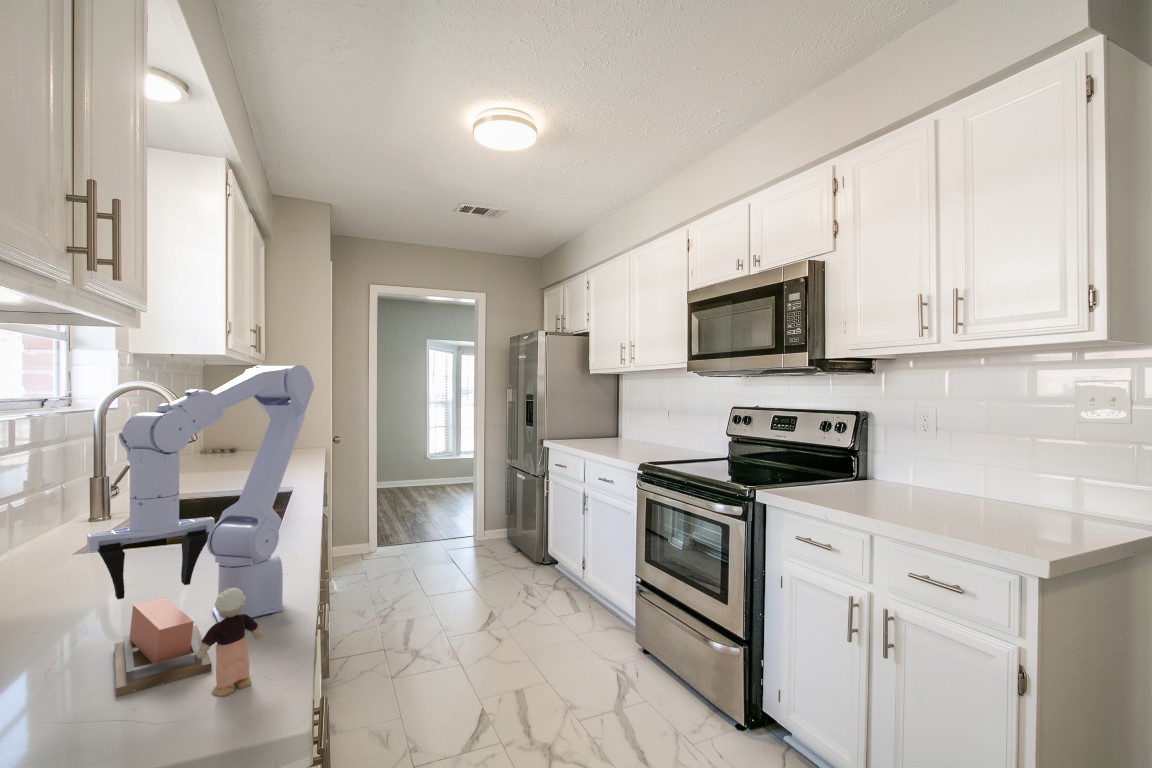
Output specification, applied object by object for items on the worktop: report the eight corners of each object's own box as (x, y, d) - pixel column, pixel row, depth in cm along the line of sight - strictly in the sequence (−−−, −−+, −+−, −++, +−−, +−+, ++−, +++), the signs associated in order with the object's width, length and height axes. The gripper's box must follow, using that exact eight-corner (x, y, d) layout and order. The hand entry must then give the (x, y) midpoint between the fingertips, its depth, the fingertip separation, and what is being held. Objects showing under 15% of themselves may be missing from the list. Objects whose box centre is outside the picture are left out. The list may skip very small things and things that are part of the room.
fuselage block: (162, 630, 83) (165, 597, 83) (189, 656, 77) (193, 621, 77) (129, 639, 80) (133, 604, 80) (155, 666, 74) (159, 629, 74)
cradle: (196, 631, 88) (196, 617, 88) (211, 670, 75) (211, 654, 75) (114, 650, 81) (114, 635, 81) (116, 696, 69) (116, 678, 69)
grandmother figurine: (245, 672, 75) (246, 578, 75) (266, 677, 74) (267, 581, 74) (188, 701, 68) (189, 597, 68) (209, 708, 66) (210, 601, 67)
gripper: (206, 486, 88) (205, 571, 88) (84, 498, 77) (83, 596, 77) (219, 491, 83) (218, 582, 83) (91, 506, 73) (90, 610, 72)
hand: (153, 590), depth 80 cm, fingers open, 7 cm apart
